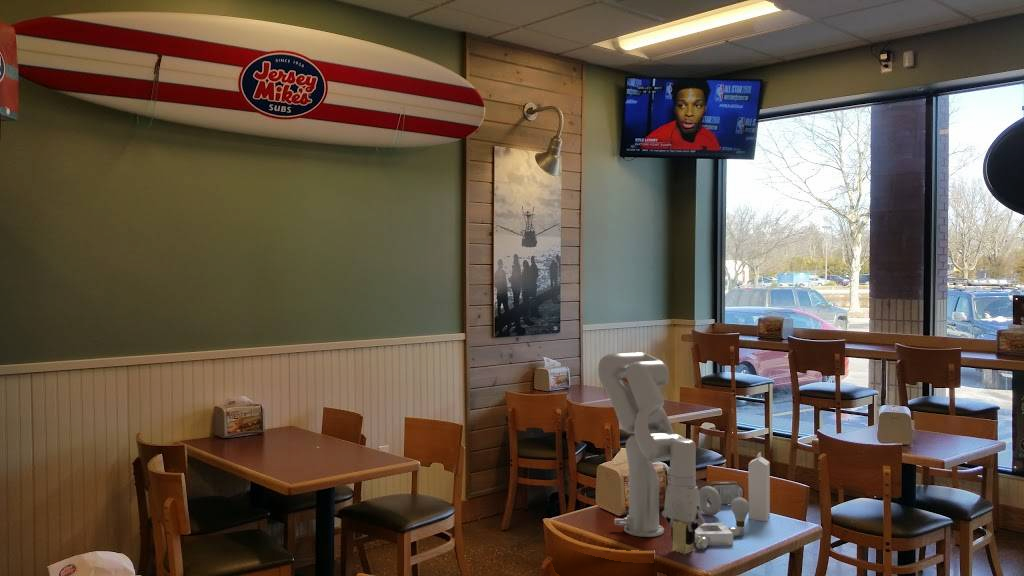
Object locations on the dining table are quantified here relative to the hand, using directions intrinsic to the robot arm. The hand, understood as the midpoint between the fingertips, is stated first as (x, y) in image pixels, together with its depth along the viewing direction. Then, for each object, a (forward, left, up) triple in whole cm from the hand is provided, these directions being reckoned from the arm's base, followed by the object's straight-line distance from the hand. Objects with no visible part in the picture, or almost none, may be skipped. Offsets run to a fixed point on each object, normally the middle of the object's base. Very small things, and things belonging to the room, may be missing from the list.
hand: (683, 541), depth 237 cm
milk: (+34, +32, -3) cm, 47 cm away
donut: (+18, +36, -3) cm, 40 cm away
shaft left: (+7, +3, -3) cm, 8 cm away
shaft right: (+19, +12, -3) cm, 22 cm away
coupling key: (0, 0, -3) cm, 3 cm away
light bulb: (+24, +21, -3) cm, 32 cm away
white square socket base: (+11, +10, -3) cm, 15 cm away
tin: (+27, +49, -3) cm, 56 cm away
